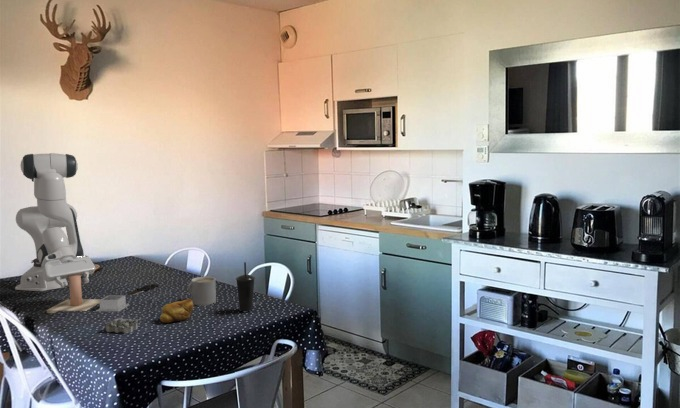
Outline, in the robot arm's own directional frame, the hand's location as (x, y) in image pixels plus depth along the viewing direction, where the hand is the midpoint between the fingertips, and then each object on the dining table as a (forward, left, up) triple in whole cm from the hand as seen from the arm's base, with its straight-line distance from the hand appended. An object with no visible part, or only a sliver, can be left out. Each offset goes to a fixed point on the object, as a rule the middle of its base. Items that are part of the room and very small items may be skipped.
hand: (75, 284), depth 230 cm
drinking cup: (+72, -3, -10) cm, 72 cm away
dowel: (0, 0, -9) cm, 9 cm away
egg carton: (+31, -27, -10) cm, 42 cm away
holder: (+17, -3, -10) cm, 19 cm away
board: (0, 0, -10) cm, 10 cm away
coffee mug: (+50, +10, -10) cm, 52 cm away
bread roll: (+46, -15, -10) cm, 50 cm away
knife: (+16, +24, -10) cm, 31 cm away
